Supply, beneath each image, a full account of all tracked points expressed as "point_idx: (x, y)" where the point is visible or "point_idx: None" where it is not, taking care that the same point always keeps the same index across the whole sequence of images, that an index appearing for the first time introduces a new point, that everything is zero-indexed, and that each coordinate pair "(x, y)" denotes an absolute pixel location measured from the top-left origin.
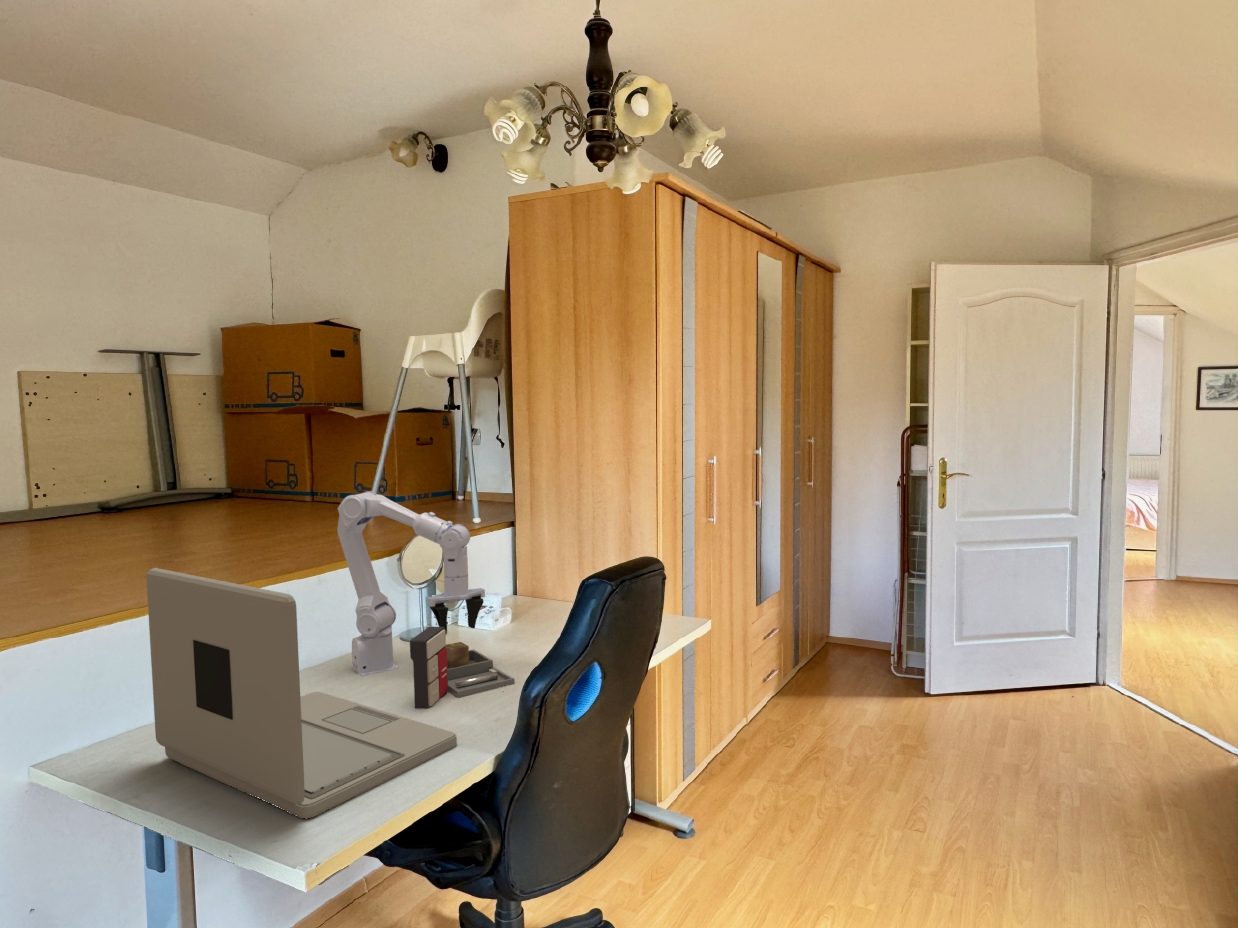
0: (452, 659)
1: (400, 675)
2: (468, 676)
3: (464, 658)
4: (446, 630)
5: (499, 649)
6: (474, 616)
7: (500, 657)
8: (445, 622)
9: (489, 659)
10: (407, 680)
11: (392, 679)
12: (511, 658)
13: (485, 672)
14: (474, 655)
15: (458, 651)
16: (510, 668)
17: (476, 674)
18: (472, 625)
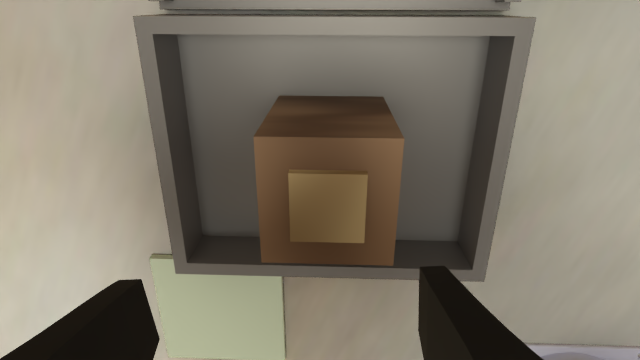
0: (384, 118)
1: (554, 260)
2: (321, 4)
3: (299, 112)
4: (435, 280)
5: (43, 308)
6: (43, 357)
7: (65, 211)
8: (484, 341)
9: (148, 48)
10: (574, 181)
11: (612, 234)
12: (16, 166)
13: (212, 6)
14: (190, 229)
15: (340, 130)
16: (56, 16)
17: (269, 7)
18: (127, 298)
